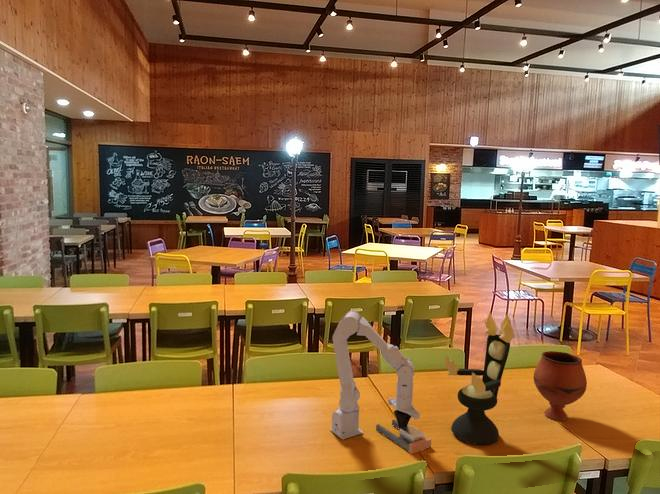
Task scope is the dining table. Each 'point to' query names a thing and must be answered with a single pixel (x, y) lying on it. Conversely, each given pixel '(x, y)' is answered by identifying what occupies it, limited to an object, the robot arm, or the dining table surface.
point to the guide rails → (410, 447)
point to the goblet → (560, 381)
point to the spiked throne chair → (482, 386)
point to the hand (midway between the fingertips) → (402, 430)
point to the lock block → (411, 434)
